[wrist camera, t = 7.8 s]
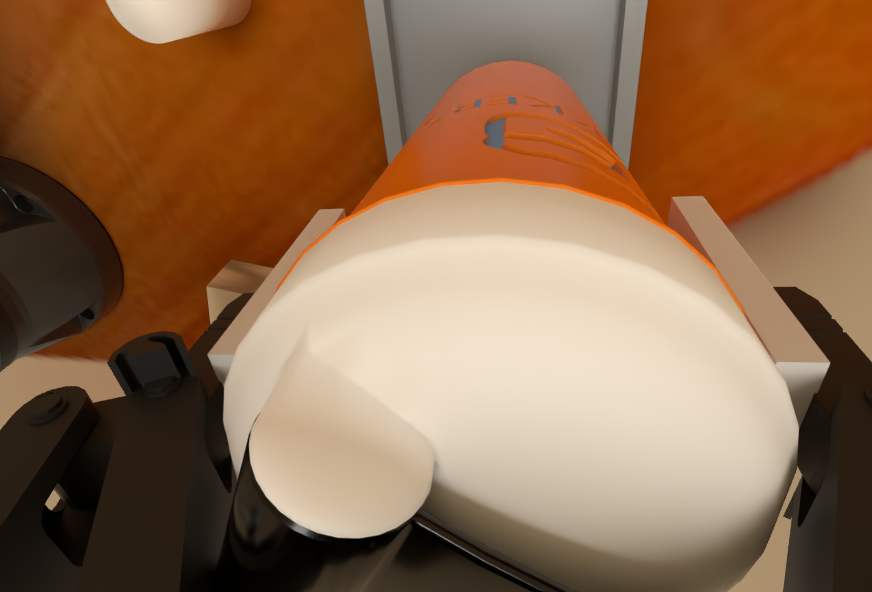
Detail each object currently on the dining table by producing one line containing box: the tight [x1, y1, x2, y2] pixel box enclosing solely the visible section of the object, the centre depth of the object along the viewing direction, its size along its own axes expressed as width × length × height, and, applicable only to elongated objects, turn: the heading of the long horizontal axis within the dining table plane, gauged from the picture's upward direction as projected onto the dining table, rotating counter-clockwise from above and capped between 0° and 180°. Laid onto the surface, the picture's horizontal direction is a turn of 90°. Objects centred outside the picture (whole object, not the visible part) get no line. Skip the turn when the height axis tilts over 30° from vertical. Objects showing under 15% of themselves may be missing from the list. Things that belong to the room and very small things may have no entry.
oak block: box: [206, 259, 274, 324], centre depth 40 cm, size 4×6×4 cm, turn 170°
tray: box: [364, 0, 648, 170], centre depth 29 cm, size 14×14×2 cm
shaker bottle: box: [212, 61, 799, 592], centre depth 14 cm, size 9×9×20 cm
